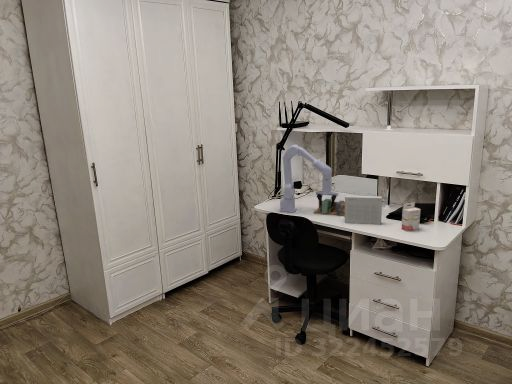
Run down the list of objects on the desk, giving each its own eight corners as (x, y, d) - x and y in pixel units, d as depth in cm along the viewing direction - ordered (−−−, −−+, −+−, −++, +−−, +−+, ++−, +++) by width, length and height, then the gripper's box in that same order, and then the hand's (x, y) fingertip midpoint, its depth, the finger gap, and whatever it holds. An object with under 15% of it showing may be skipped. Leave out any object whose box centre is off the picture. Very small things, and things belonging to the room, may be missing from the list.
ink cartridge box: (407, 231, 220) (409, 205, 217) (401, 228, 225) (402, 203, 221) (419, 229, 223) (421, 203, 220) (413, 226, 228) (414, 201, 224)
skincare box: (381, 222, 238) (382, 196, 235) (381, 224, 233) (382, 198, 230) (344, 220, 244) (345, 194, 240) (344, 222, 239) (344, 197, 235)
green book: (321, 212, 258) (321, 201, 256) (325, 208, 266) (326, 198, 264) (327, 212, 256) (327, 202, 255) (331, 209, 264) (331, 199, 262)
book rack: (313, 213, 260) (313, 202, 258) (319, 208, 270) (319, 198, 268) (344, 216, 251) (344, 204, 249) (348, 211, 261) (348, 200, 259)
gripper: (314, 186, 257) (313, 206, 260) (336, 187, 250) (335, 208, 254) (317, 183, 263) (317, 203, 266) (339, 185, 257) (338, 205, 260)
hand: (326, 205), depth 260 cm, fingers open, 7 cm apart
